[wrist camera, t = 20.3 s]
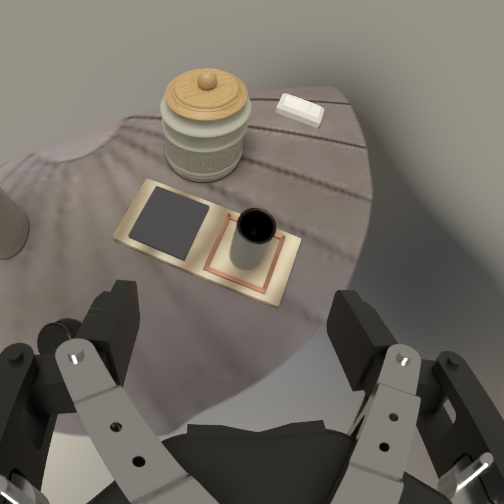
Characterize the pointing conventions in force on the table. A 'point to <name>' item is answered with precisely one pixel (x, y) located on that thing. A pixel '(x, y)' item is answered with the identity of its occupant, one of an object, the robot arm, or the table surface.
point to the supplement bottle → (57, 334)
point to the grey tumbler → (251, 238)
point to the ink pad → (169, 222)
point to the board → (219, 251)
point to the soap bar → (300, 110)
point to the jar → (204, 123)
